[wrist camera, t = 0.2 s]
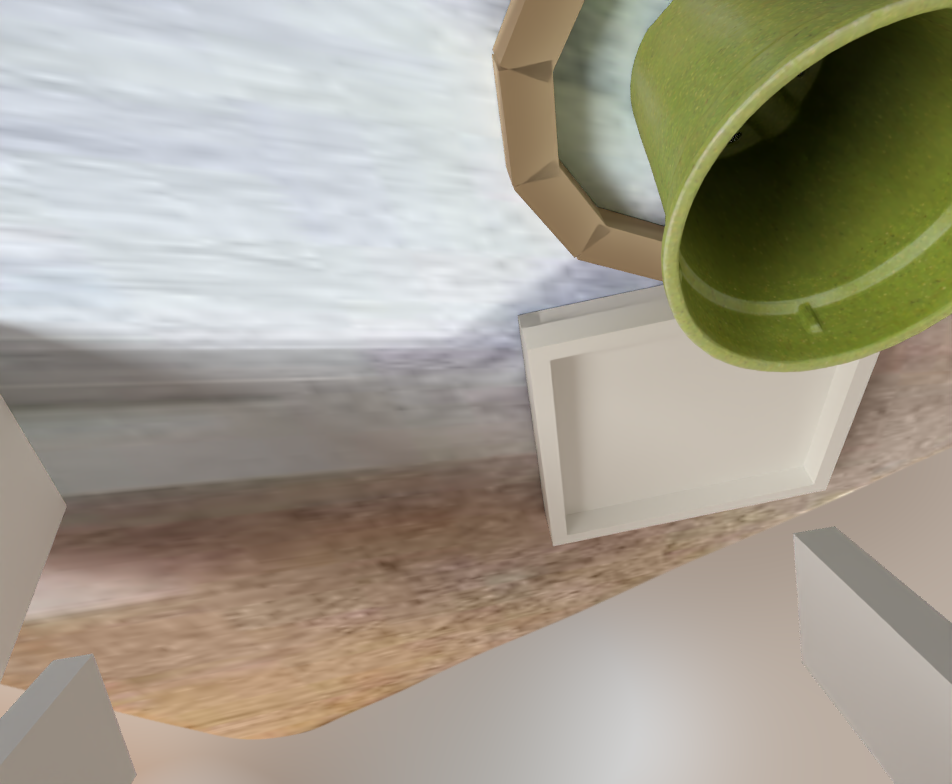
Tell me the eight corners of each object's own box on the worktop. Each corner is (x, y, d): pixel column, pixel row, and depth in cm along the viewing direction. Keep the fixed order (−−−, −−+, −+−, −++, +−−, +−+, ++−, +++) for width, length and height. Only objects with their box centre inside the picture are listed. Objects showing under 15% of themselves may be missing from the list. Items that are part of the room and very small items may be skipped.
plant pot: (581, 227, 25) (659, 405, 19) (562, -77, 18) (676, 54, 12) (840, 169, 25) (1000, 331, 19) (921, -161, 18) (1215, -70, 12)
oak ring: (462, -173, 16) (469, -164, 15) (1055, -302, 16) (1094, -300, 15) (521, 290, 27) (528, 310, 26) (884, 214, 26) (901, 231, 26)
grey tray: (517, 315, 27) (527, 349, 26) (883, 238, 27) (912, 269, 26) (545, 514, 38) (553, 546, 37) (807, 460, 38) (825, 490, 37)
